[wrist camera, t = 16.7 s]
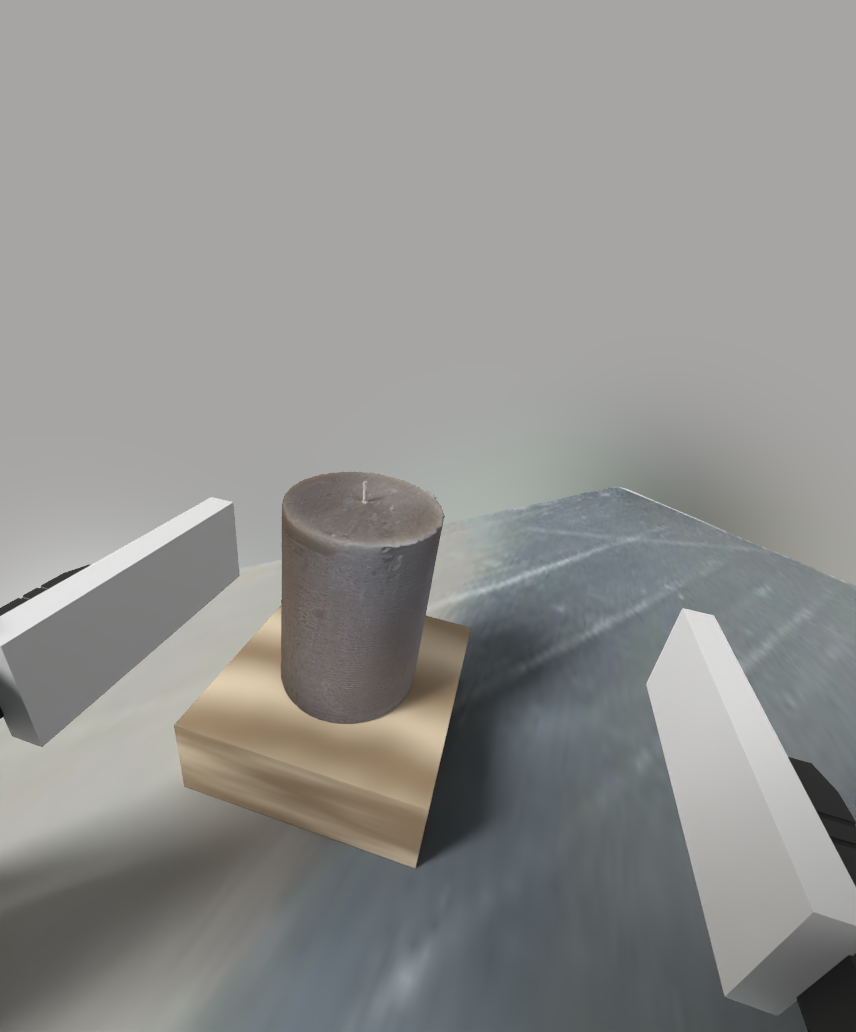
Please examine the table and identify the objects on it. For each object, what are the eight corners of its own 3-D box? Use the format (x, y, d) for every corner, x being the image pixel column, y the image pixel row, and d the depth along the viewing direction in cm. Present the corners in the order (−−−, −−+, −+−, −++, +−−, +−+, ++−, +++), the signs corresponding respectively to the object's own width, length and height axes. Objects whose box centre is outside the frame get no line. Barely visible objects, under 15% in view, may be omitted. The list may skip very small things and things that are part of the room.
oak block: (300, 632, 44) (301, 582, 41) (459, 677, 41) (471, 627, 39) (184, 786, 30) (173, 725, 27) (415, 868, 27) (428, 810, 25)
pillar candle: (258, 653, 33) (250, 464, 26) (368, 609, 39) (385, 445, 32) (325, 755, 27) (337, 542, 20) (443, 683, 33) (483, 501, 26)
